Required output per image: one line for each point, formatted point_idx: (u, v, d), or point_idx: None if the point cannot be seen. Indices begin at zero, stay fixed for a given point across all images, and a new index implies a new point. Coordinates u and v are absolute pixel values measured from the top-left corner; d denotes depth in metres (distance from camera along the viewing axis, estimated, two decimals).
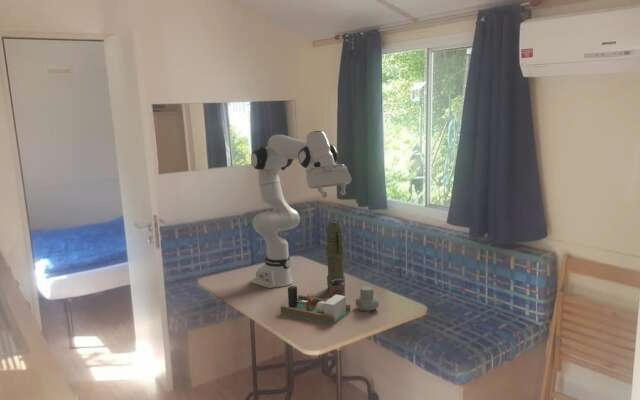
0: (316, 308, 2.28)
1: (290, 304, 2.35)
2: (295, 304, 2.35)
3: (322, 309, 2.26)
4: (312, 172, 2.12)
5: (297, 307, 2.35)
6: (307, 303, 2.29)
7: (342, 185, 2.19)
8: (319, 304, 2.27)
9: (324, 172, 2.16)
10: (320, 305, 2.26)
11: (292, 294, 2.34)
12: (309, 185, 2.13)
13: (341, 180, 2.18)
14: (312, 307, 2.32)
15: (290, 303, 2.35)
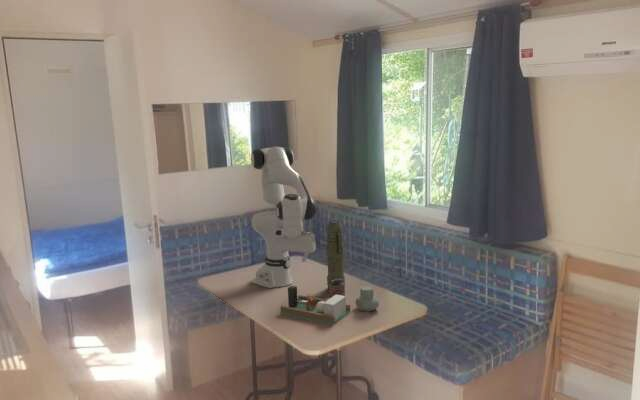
0: (316, 308, 2.28)
1: (290, 304, 2.35)
2: (295, 304, 2.35)
3: (322, 309, 2.26)
4: (274, 238, 2.31)
5: (297, 307, 2.35)
6: (307, 303, 2.29)
7: (304, 253, 2.28)
8: (319, 304, 2.27)
9: (287, 239, 2.29)
10: (320, 305, 2.26)
11: (292, 294, 2.34)
12: None
13: (301, 250, 2.27)
14: (312, 307, 2.32)
15: (290, 303, 2.35)
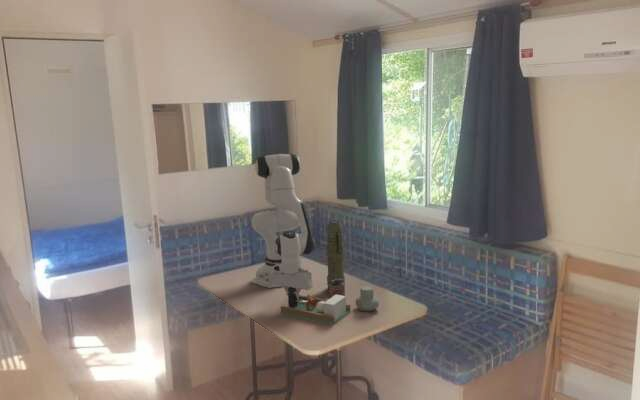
0: (316, 308, 2.28)
1: (290, 304, 2.35)
2: (295, 304, 2.35)
3: (322, 309, 2.26)
4: (273, 273, 2.36)
5: (297, 307, 2.35)
6: (307, 303, 2.29)
7: None
8: (319, 304, 2.27)
9: (285, 275, 2.34)
10: (320, 305, 2.26)
11: (292, 294, 2.34)
12: None
13: (298, 286, 2.31)
14: (312, 307, 2.32)
15: (290, 303, 2.35)
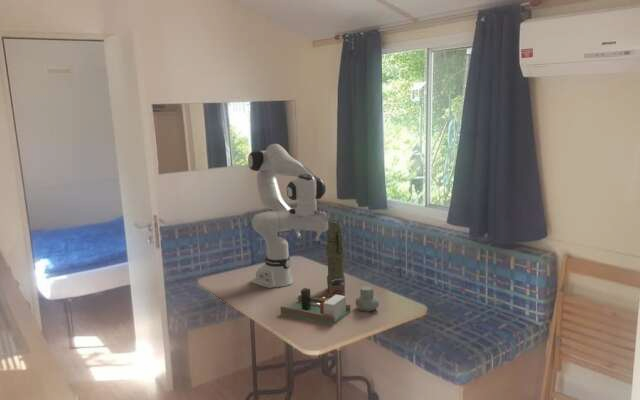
0: None
1: (303, 307, 2.32)
2: (308, 307, 2.32)
3: None
4: (288, 217, 2.37)
5: (297, 307, 2.35)
6: (321, 306, 2.26)
7: (317, 232, 2.33)
8: None
9: (301, 218, 2.35)
10: None
11: (305, 296, 2.30)
12: None
13: (314, 229, 2.32)
14: None
15: (303, 305, 2.32)
